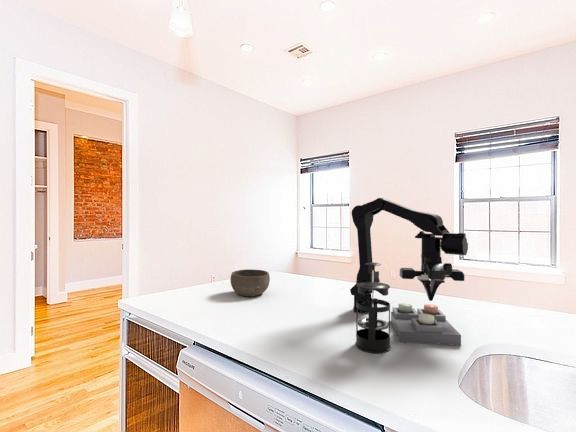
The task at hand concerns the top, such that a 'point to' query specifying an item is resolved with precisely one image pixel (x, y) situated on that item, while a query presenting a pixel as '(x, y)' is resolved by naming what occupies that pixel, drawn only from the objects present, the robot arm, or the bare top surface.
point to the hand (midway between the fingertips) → (430, 300)
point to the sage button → (405, 307)
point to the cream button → (426, 318)
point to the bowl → (250, 282)
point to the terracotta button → (430, 308)
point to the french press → (372, 318)
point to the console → (424, 328)
